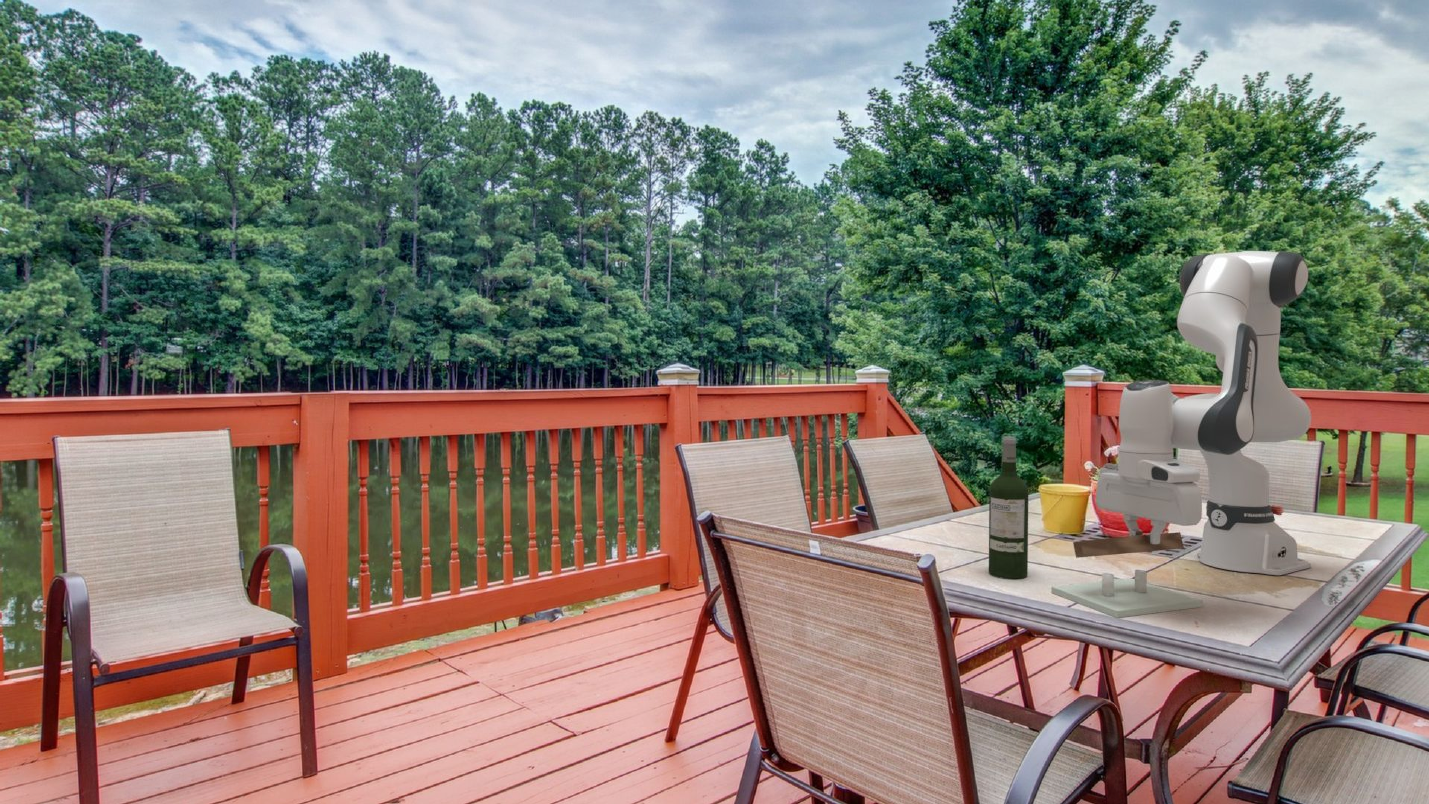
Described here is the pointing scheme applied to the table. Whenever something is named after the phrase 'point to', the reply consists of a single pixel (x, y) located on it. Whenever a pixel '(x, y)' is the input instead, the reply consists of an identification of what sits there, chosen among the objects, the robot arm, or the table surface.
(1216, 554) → the robot arm
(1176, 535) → the frame
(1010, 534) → the wine bottle
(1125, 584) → the board
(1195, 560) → the table surface
